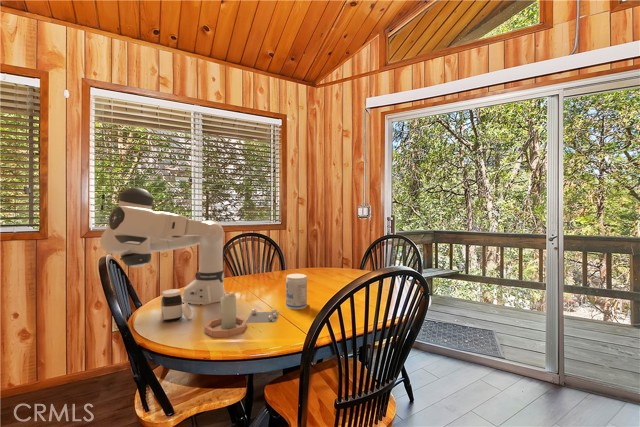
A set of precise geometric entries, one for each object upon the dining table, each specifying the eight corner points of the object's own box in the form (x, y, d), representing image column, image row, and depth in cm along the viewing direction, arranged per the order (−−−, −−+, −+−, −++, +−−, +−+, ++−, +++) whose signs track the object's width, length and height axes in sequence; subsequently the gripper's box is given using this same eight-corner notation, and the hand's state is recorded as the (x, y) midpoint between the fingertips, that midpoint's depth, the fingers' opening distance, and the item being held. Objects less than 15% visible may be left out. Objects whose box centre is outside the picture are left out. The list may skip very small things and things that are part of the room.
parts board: (245, 324, 125) (245, 317, 125) (251, 314, 137) (251, 307, 137) (276, 324, 126) (276, 316, 126) (279, 313, 138) (279, 306, 138)
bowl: (200, 339, 112) (200, 331, 112) (212, 323, 126) (212, 316, 126) (241, 338, 112) (240, 330, 112) (249, 323, 127) (248, 316, 126)
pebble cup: (219, 331, 117) (218, 294, 117) (223, 325, 123) (223, 290, 122) (234, 331, 118) (233, 294, 117) (237, 325, 123) (237, 290, 123)
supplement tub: (281, 308, 145) (281, 275, 145) (296, 303, 153) (296, 272, 152) (296, 312, 139) (296, 279, 139) (311, 307, 146) (311, 275, 146)
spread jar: (159, 317, 133) (159, 289, 133) (188, 312, 140) (188, 285, 139) (164, 326, 123) (163, 296, 123) (194, 320, 130) (194, 292, 129)
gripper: (155, 236, 110) (193, 241, 120) (181, 235, 97) (222, 241, 107) (158, 218, 112) (195, 225, 122) (184, 215, 98) (224, 222, 108)
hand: (208, 232), depth 114 cm, fingers open, 8 cm apart
